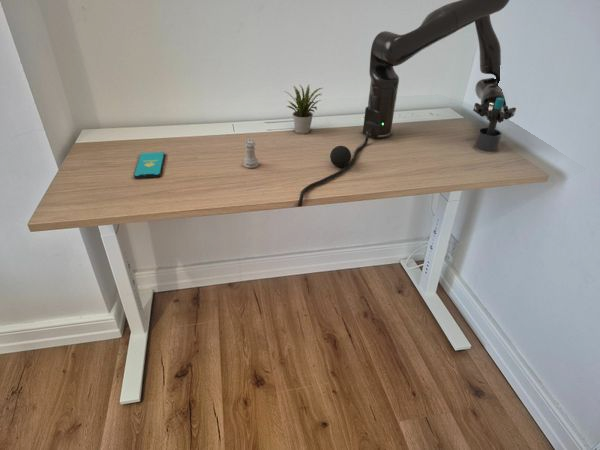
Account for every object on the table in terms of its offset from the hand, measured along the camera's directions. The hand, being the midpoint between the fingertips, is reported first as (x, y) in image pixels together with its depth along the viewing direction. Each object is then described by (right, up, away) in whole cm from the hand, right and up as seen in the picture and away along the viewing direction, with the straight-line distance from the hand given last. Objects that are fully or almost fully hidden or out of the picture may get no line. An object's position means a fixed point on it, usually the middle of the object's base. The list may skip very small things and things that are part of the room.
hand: (496, 119), depth 133 cm
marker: (+1, -7, +9) cm, 11 cm away
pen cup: (+1, -8, +9) cm, 12 cm away
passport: (-107, -16, -6) cm, 109 cm away
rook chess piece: (-77, -15, -4) cm, 79 cm away
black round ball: (-50, -15, -2) cm, 52 cm away
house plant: (-60, 0, +18) cm, 62 cm away
